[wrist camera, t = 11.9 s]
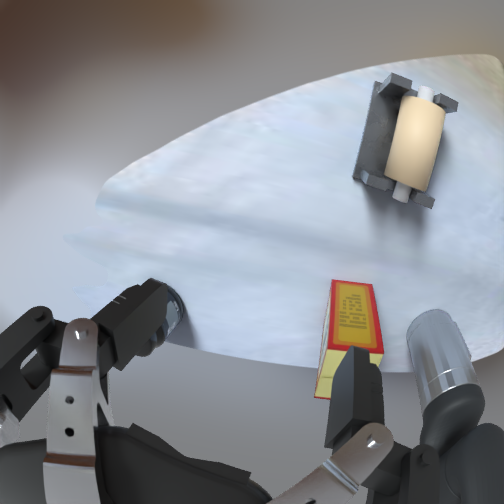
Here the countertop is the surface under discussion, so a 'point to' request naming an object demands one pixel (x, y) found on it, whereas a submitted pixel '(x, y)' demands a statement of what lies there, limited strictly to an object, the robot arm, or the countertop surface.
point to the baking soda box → (347, 330)
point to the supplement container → (164, 324)
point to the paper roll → (415, 143)
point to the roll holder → (388, 134)
